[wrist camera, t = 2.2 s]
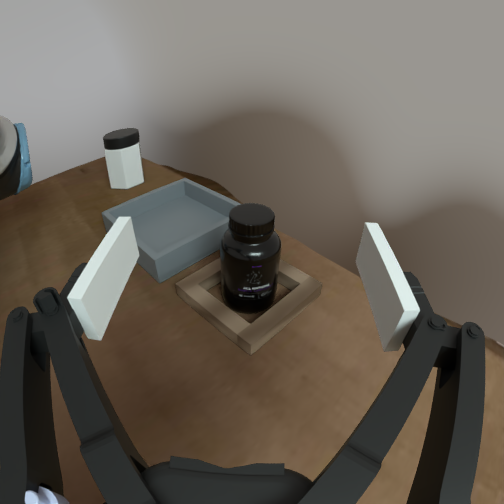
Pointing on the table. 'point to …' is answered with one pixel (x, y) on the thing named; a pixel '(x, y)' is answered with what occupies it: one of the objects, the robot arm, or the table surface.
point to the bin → (174, 225)
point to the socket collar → (236, 326)
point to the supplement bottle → (250, 258)
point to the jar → (123, 158)
